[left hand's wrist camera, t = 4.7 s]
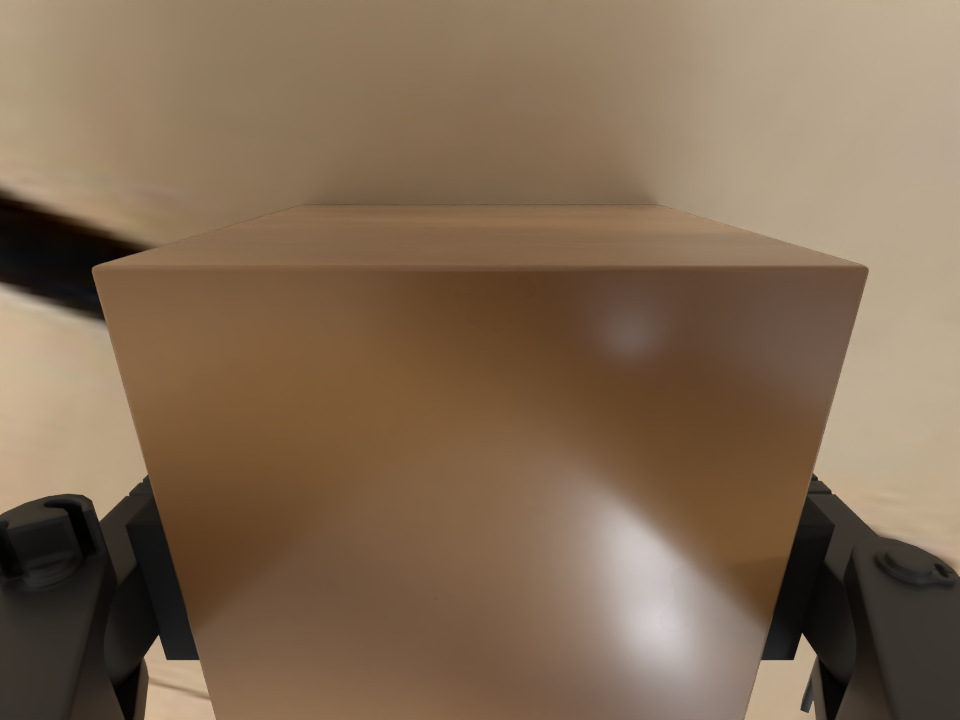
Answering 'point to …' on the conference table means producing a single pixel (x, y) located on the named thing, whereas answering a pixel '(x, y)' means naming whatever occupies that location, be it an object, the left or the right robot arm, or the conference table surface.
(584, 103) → the conference table surface
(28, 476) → the conference table surface
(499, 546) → the brown wooden bar
